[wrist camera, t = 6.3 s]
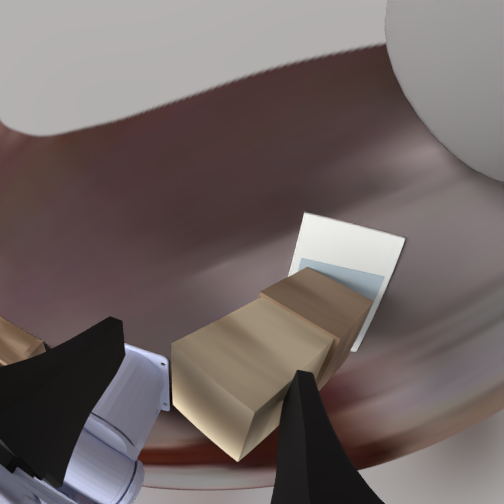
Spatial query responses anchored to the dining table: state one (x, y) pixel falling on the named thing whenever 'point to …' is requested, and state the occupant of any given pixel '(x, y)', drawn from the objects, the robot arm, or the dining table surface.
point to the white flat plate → (348, 257)
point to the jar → (453, 73)
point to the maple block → (243, 372)
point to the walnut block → (323, 312)
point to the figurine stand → (17, 344)
